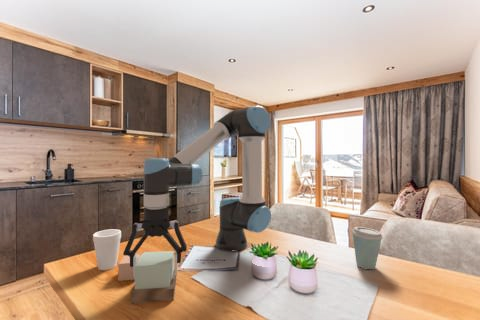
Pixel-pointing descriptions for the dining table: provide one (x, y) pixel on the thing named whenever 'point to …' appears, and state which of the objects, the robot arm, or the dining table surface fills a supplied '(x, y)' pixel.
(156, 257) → the sage brick
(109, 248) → the foam cup
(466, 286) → the dining table surface
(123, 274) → the beige cube
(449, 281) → the dining table surface
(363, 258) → the disposable coffee cup
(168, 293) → the walnut base
